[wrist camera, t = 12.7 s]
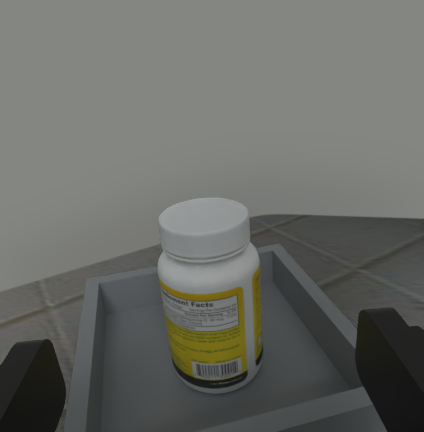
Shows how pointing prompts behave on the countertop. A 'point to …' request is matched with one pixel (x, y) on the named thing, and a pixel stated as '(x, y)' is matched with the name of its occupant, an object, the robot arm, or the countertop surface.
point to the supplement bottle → (211, 293)
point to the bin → (225, 402)
